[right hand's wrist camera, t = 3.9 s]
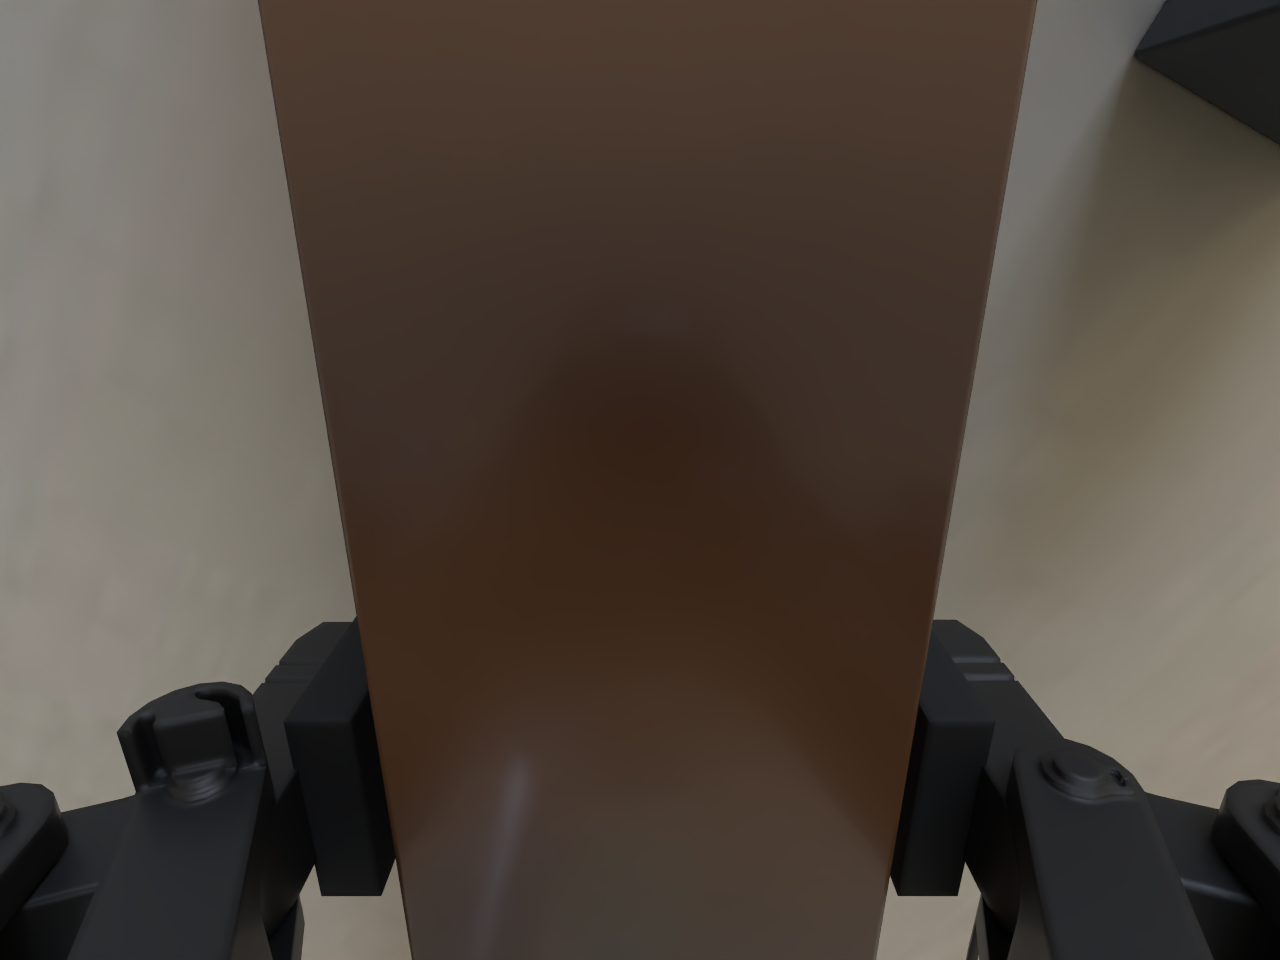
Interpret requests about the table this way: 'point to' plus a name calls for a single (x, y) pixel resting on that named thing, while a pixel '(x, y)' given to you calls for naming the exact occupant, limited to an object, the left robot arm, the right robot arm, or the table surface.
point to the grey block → (1222, 55)
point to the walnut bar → (645, 439)
